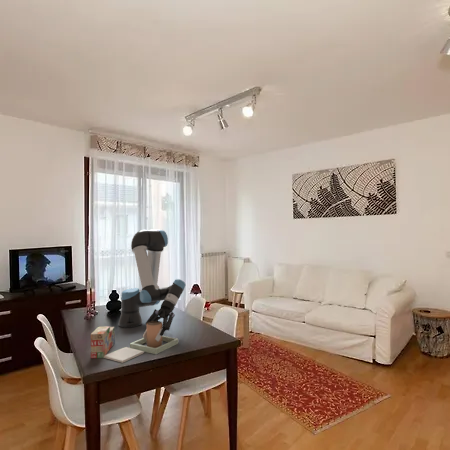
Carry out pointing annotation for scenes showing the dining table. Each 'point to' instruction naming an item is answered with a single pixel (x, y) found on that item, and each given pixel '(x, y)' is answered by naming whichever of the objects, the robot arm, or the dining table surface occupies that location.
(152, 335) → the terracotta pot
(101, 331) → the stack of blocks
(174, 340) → the frame
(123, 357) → the ceramic tile
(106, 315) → the dining table surface
